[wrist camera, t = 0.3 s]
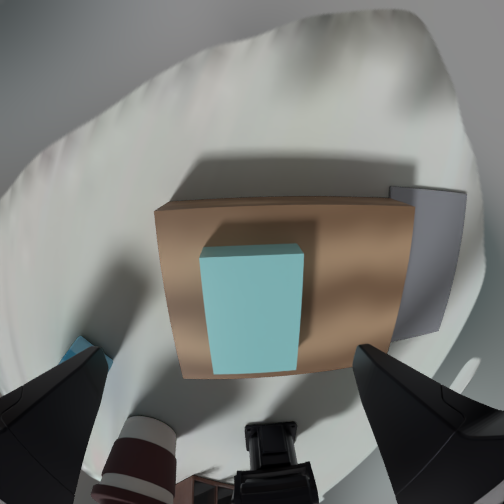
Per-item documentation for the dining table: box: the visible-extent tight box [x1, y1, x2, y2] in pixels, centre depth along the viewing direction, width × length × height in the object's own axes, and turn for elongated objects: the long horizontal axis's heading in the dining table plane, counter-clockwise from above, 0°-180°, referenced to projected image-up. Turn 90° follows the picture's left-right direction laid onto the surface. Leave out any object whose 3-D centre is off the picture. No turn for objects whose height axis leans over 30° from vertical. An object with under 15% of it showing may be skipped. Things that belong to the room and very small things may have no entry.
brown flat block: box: [154, 196, 415, 379], centre depth 21 cm, size 14×18×4 cm
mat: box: [389, 186, 467, 342], centre depth 23 cm, size 16×10×1 cm, turn 1°
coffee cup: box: [91, 416, 176, 504], centre depth 22 cm, size 10×10×15 cm
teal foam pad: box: [199, 243, 304, 374], centre depth 18 cm, size 9×6×2 cm, turn 1°
